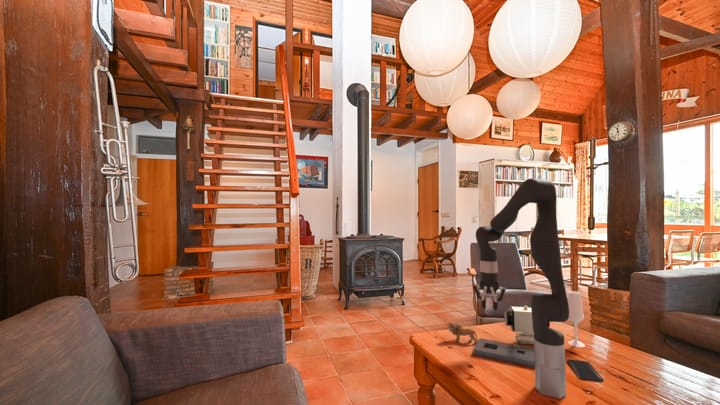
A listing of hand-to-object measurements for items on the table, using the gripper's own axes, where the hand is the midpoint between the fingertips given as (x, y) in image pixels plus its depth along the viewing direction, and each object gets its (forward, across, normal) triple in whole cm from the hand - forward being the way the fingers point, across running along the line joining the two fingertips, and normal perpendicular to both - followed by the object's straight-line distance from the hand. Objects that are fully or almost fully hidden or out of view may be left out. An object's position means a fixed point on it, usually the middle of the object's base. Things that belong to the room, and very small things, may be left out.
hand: (489, 308), depth 142 cm
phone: (+20, +34, 0) cm, 39 cm away
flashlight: (+2, 0, 0) cm, 2 cm away
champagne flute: (+19, +33, +28) cm, 47 cm away
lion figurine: (+19, -13, +5) cm, 24 cm away
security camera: (+19, +13, +18) cm, 29 cm away
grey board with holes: (+19, +6, 0) cm, 20 cm away
